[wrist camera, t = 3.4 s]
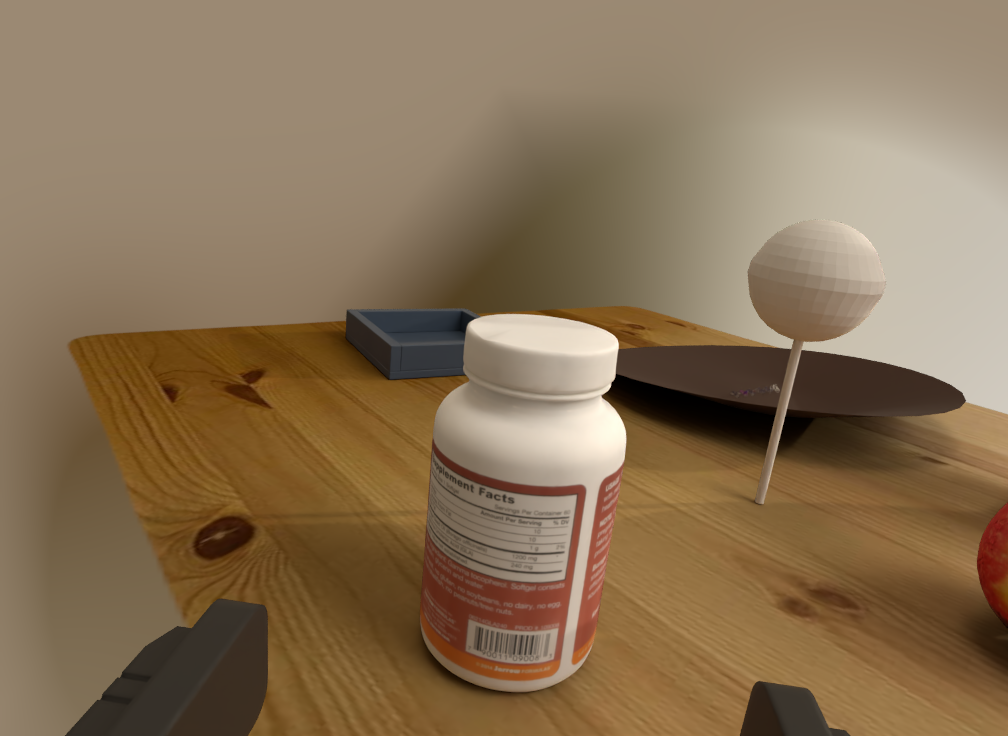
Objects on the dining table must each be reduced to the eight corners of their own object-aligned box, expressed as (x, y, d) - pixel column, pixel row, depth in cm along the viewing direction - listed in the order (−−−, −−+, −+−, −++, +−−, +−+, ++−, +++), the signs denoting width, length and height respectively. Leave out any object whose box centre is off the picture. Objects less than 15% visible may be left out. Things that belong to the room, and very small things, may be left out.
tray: (389, 379, 48) (391, 346, 47) (345, 338, 57) (346, 309, 57) (523, 371, 54) (527, 341, 53) (463, 334, 63) (465, 308, 62)
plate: (733, 341, 73) (739, 309, 72) (1019, 438, 50) (1036, 394, 49) (525, 355, 58) (530, 315, 57) (798, 499, 36) (814, 439, 35)
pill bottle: (519, 563, 27) (552, 304, 24) (629, 655, 23) (689, 349, 19) (385, 611, 23) (404, 311, 20) (484, 732, 19) (529, 369, 16)
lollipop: (678, 487, 36) (735, 209, 31) (743, 468, 39) (802, 215, 35) (778, 543, 31) (861, 225, 27) (842, 517, 34) (925, 230, 30)
